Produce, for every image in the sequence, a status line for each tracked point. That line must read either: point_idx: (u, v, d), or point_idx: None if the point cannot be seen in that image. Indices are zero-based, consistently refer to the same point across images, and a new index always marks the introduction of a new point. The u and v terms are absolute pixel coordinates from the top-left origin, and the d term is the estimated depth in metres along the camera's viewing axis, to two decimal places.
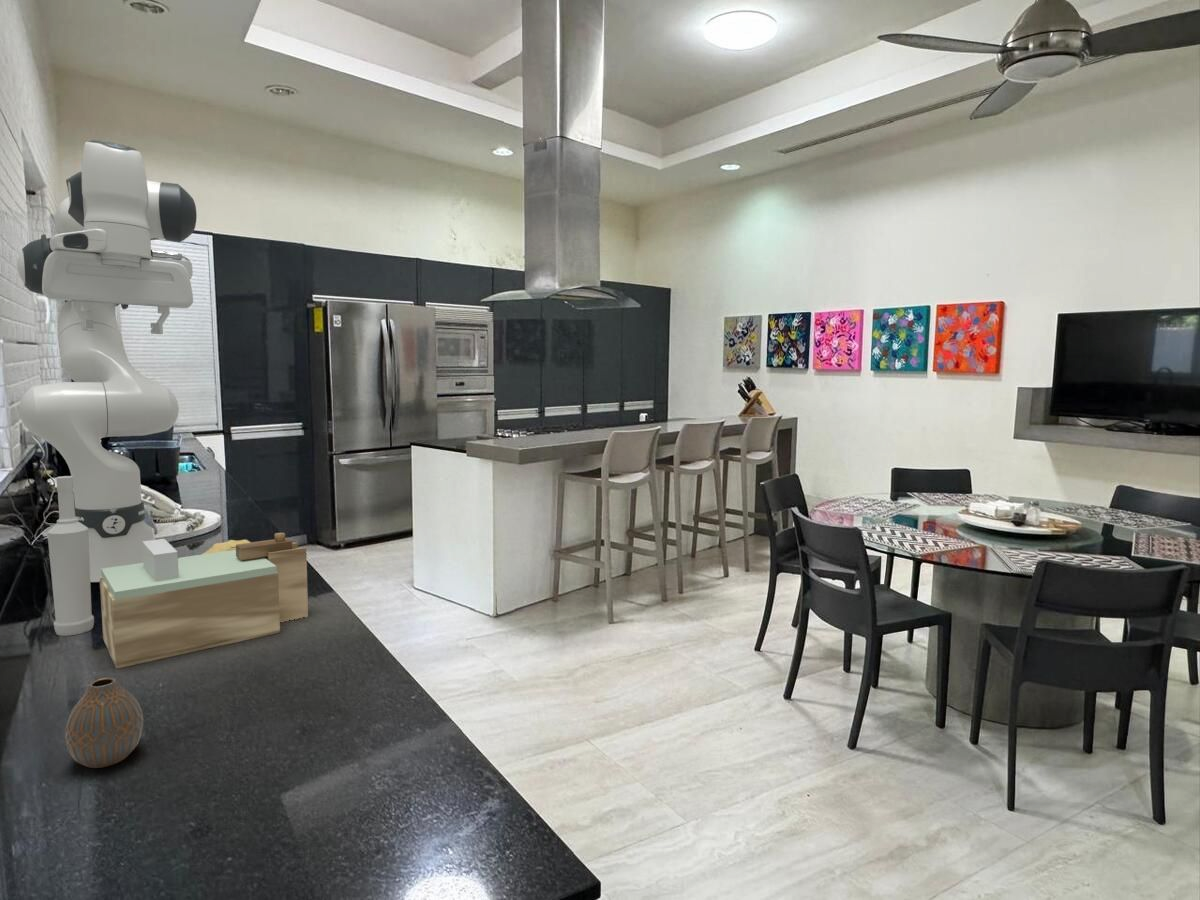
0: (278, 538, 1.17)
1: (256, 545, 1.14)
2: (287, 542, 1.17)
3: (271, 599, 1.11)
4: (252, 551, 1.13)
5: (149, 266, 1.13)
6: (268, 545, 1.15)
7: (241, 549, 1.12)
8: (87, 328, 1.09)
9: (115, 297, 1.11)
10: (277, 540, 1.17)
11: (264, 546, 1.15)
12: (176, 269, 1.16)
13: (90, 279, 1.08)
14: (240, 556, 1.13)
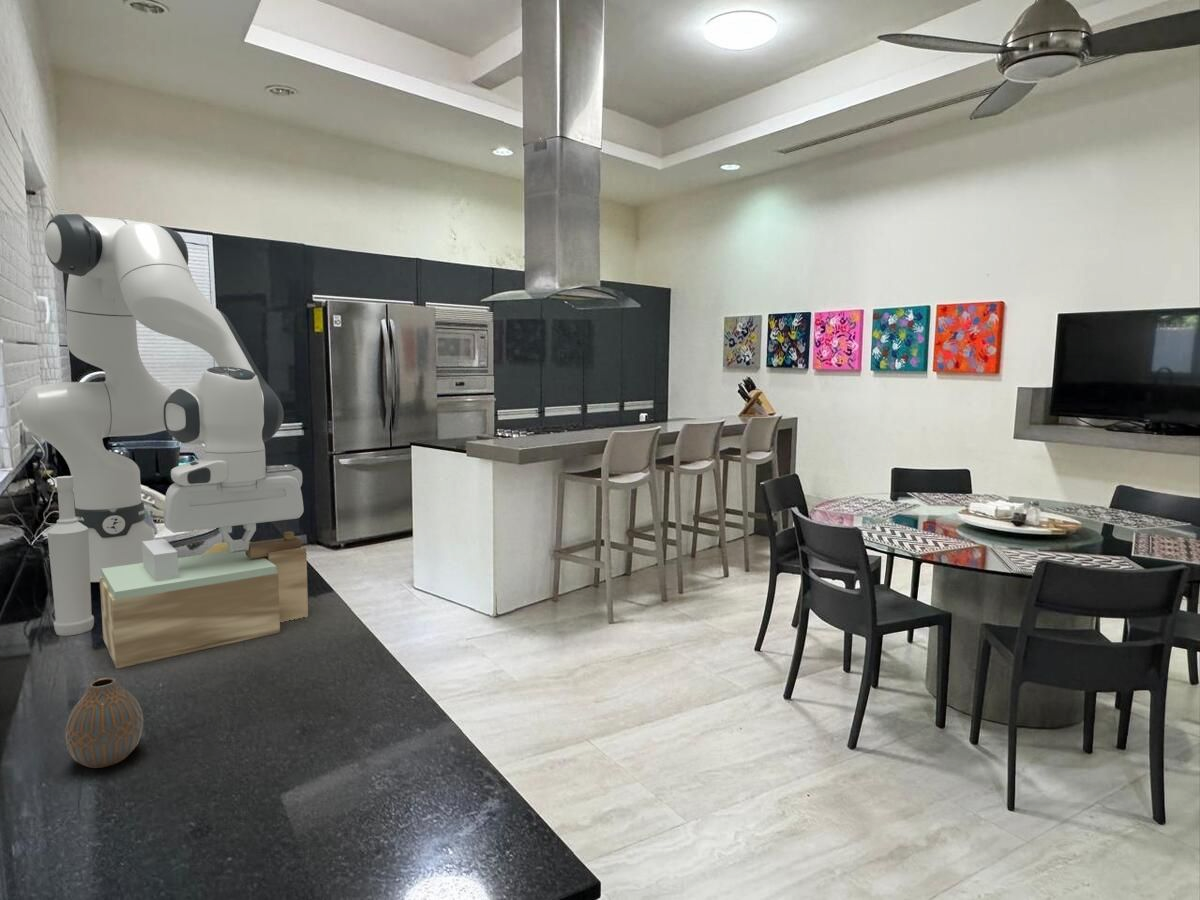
0: (287, 537, 1.18)
1: (265, 544, 1.15)
2: (296, 541, 1.18)
3: (271, 599, 1.11)
4: (262, 550, 1.14)
5: (264, 485, 1.13)
6: (277, 544, 1.16)
7: (251, 548, 1.13)
8: (234, 550, 1.12)
9: (233, 521, 1.11)
10: (286, 539, 1.18)
11: (273, 545, 1.16)
12: (288, 483, 1.16)
13: (210, 508, 1.08)
14: (250, 555, 1.14)
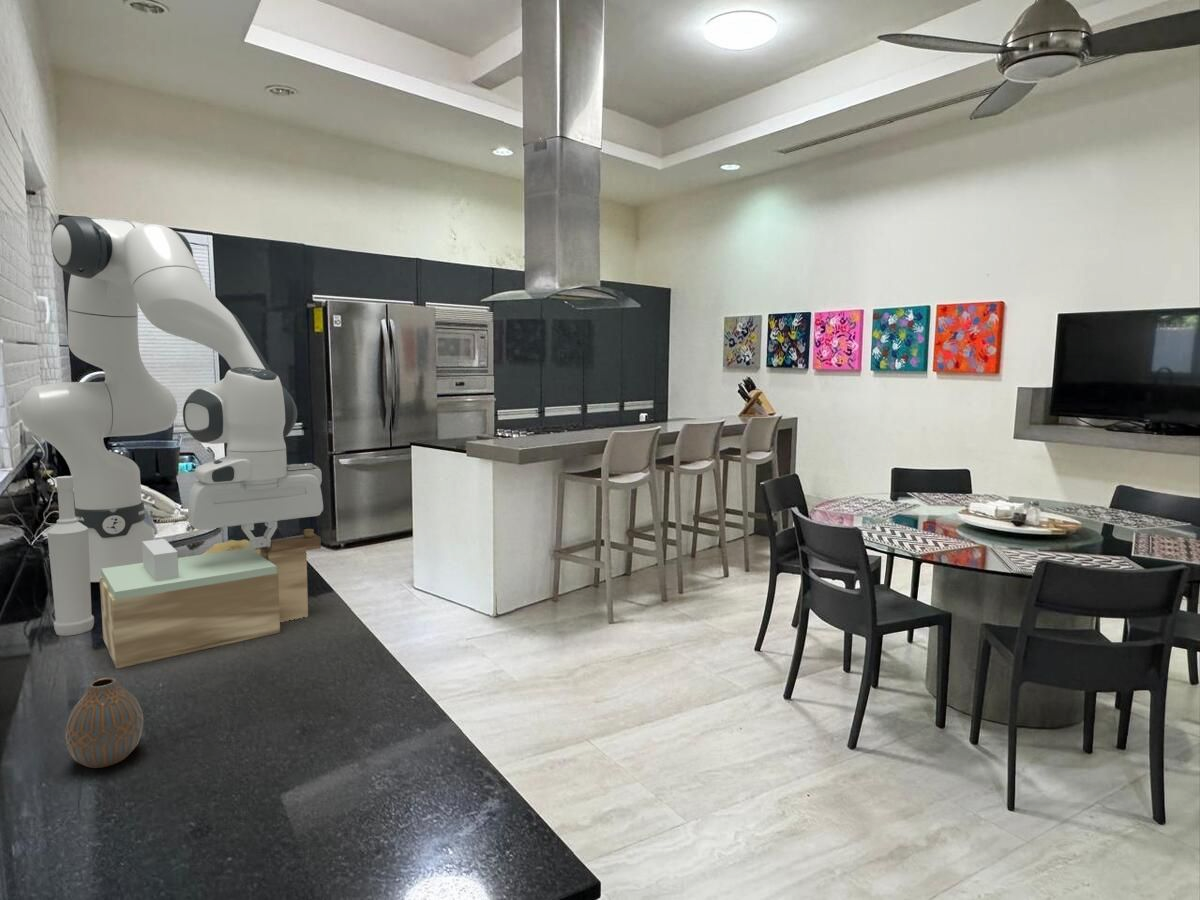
0: (307, 534, 1.20)
1: (286, 541, 1.17)
2: (316, 538, 1.20)
3: (271, 599, 1.11)
4: (283, 547, 1.17)
5: (285, 483, 1.15)
6: (298, 541, 1.18)
7: (272, 545, 1.15)
8: (256, 547, 1.14)
9: (255, 519, 1.13)
10: (306, 536, 1.20)
11: (294, 542, 1.18)
12: (309, 482, 1.18)
13: (233, 505, 1.10)
14: (271, 551, 1.16)
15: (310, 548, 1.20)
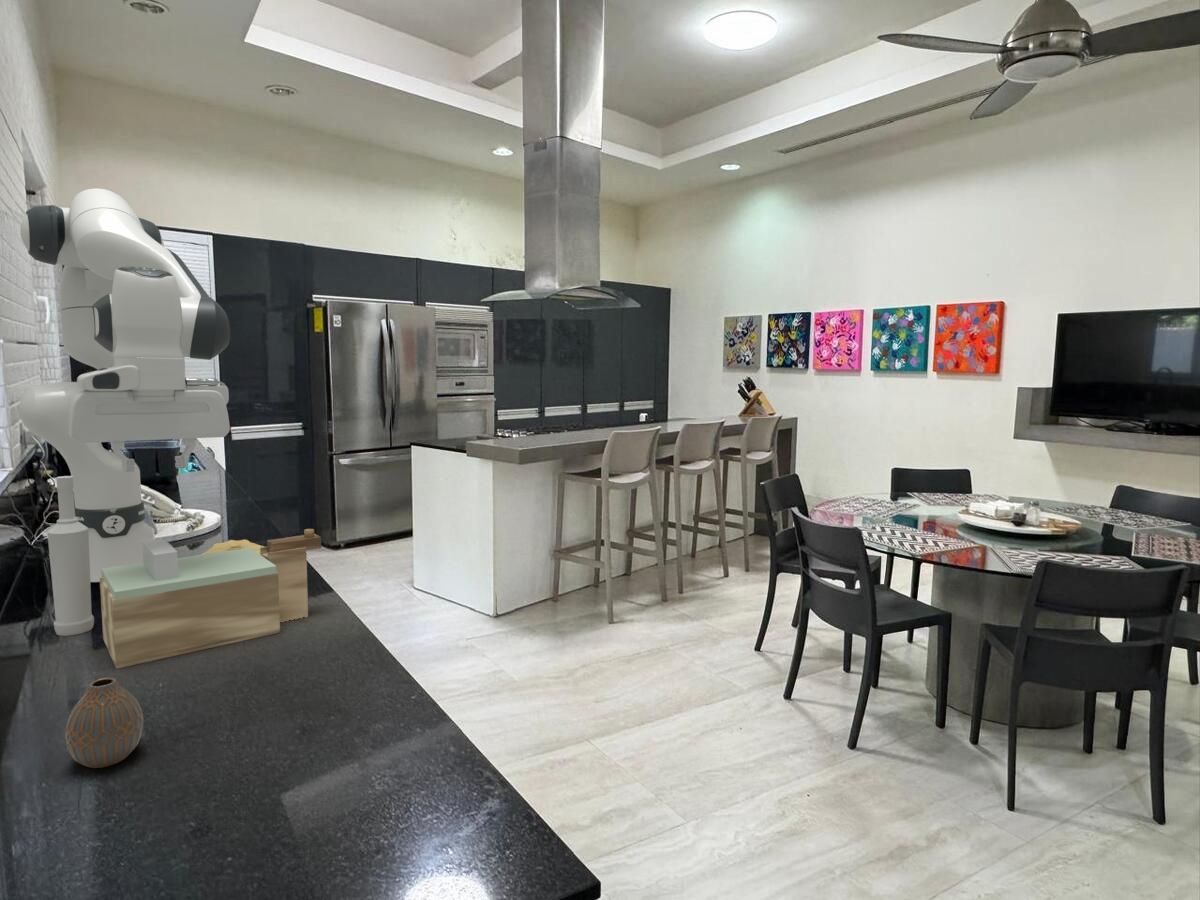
0: (308, 534, 1.20)
1: (287, 541, 1.17)
2: (316, 538, 1.20)
3: (271, 599, 1.11)
4: (283, 547, 1.17)
5: (184, 398, 1.04)
6: (298, 541, 1.18)
7: (273, 545, 1.16)
8: (127, 469, 1.01)
9: (148, 435, 1.02)
10: (307, 536, 1.20)
11: (294, 542, 1.18)
12: (212, 398, 1.07)
13: (121, 418, 0.99)
14: (272, 551, 1.16)
15: (310, 548, 1.20)
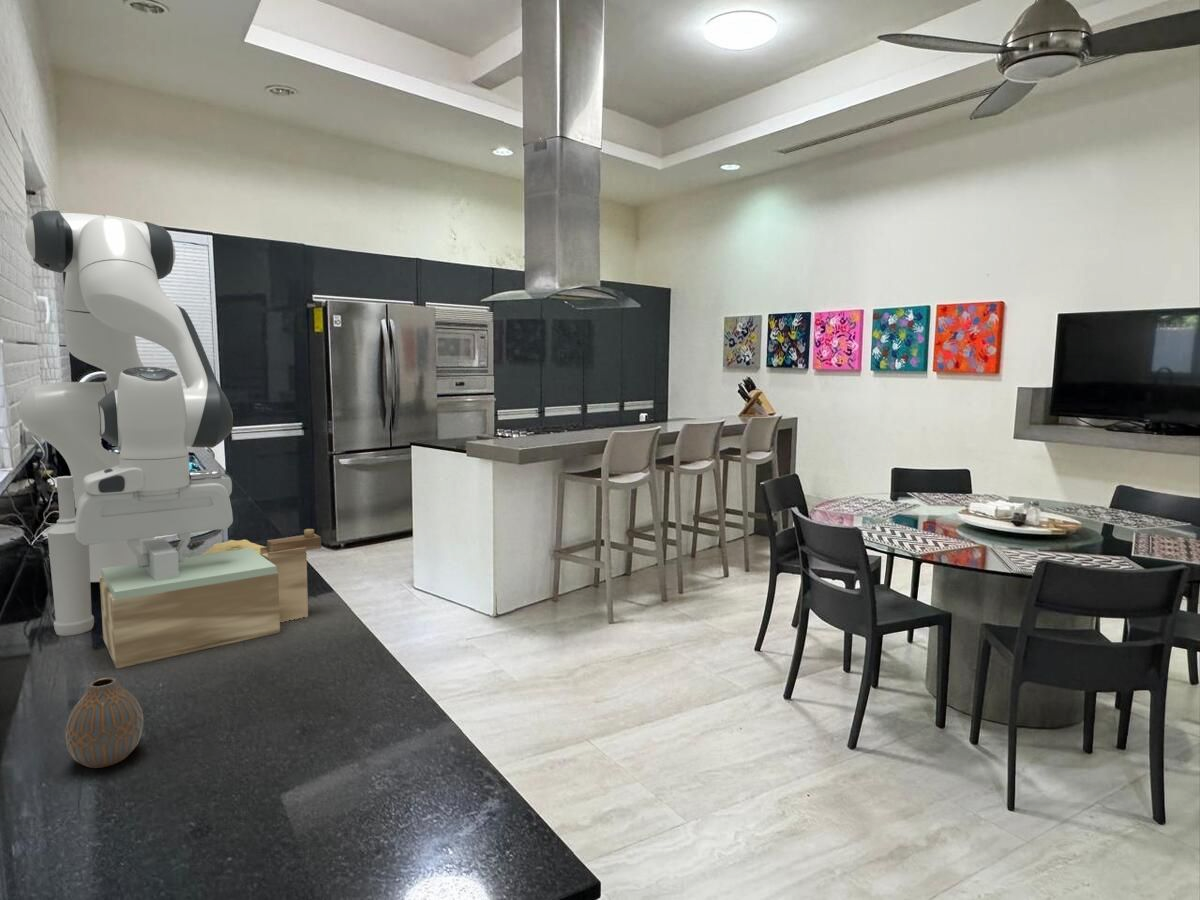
0: (308, 534, 1.20)
1: (287, 541, 1.17)
2: (316, 538, 1.20)
3: (271, 599, 1.11)
4: (283, 547, 1.17)
5: (188, 493, 1.06)
6: (298, 541, 1.18)
7: (273, 545, 1.16)
8: (142, 565, 1.04)
9: (152, 532, 1.03)
10: (307, 536, 1.20)
11: (294, 542, 1.18)
12: (215, 491, 1.09)
13: (126, 518, 1.01)
14: (272, 551, 1.16)
15: (310, 548, 1.20)
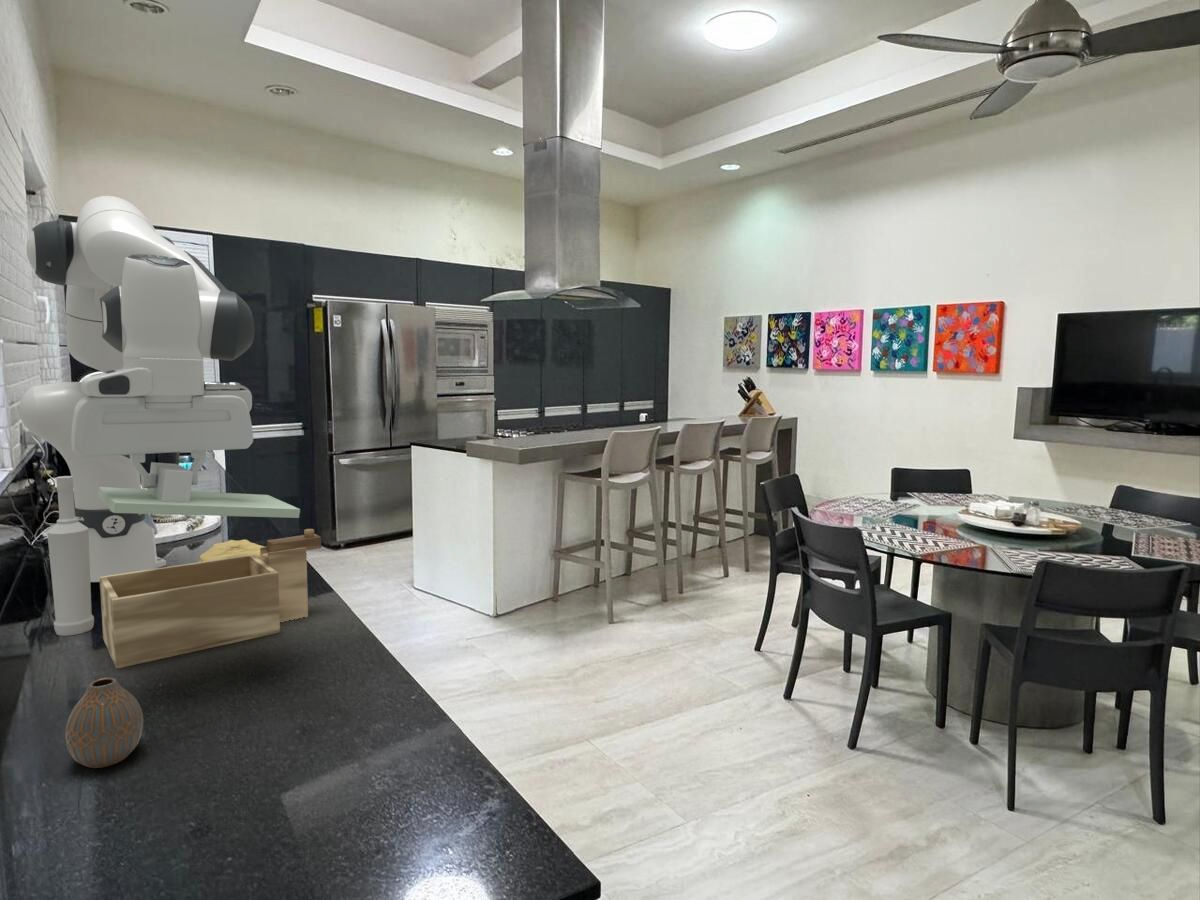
0: (308, 534, 1.20)
1: (287, 541, 1.17)
2: (316, 538, 1.20)
3: (271, 599, 1.11)
4: (283, 547, 1.17)
5: (202, 404, 0.92)
6: (298, 541, 1.18)
7: (273, 545, 1.16)
8: (148, 485, 0.89)
9: (162, 447, 0.89)
10: (307, 536, 1.20)
11: (294, 542, 1.18)
12: (234, 405, 0.94)
13: (131, 428, 0.87)
14: (272, 551, 1.16)
15: (310, 548, 1.20)
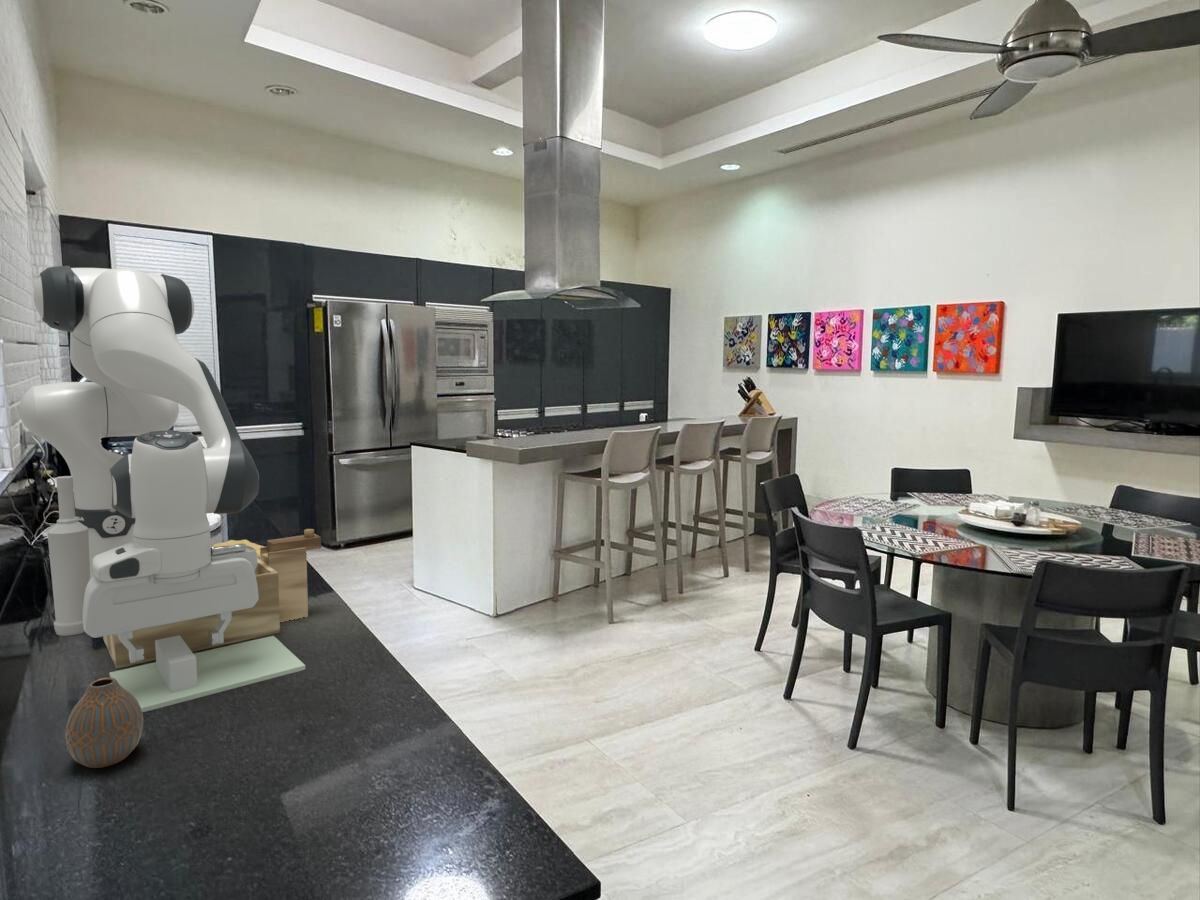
0: (308, 534, 1.20)
1: (287, 541, 1.17)
2: (316, 538, 1.20)
3: (271, 599, 1.11)
4: (283, 547, 1.17)
5: (209, 572, 0.94)
6: (298, 541, 1.18)
7: (273, 545, 1.16)
8: (136, 660, 0.90)
9: (170, 618, 0.92)
10: (307, 536, 1.20)
11: (294, 542, 1.18)
12: (240, 568, 0.97)
13: (140, 604, 0.89)
14: (272, 551, 1.16)
15: (310, 548, 1.20)
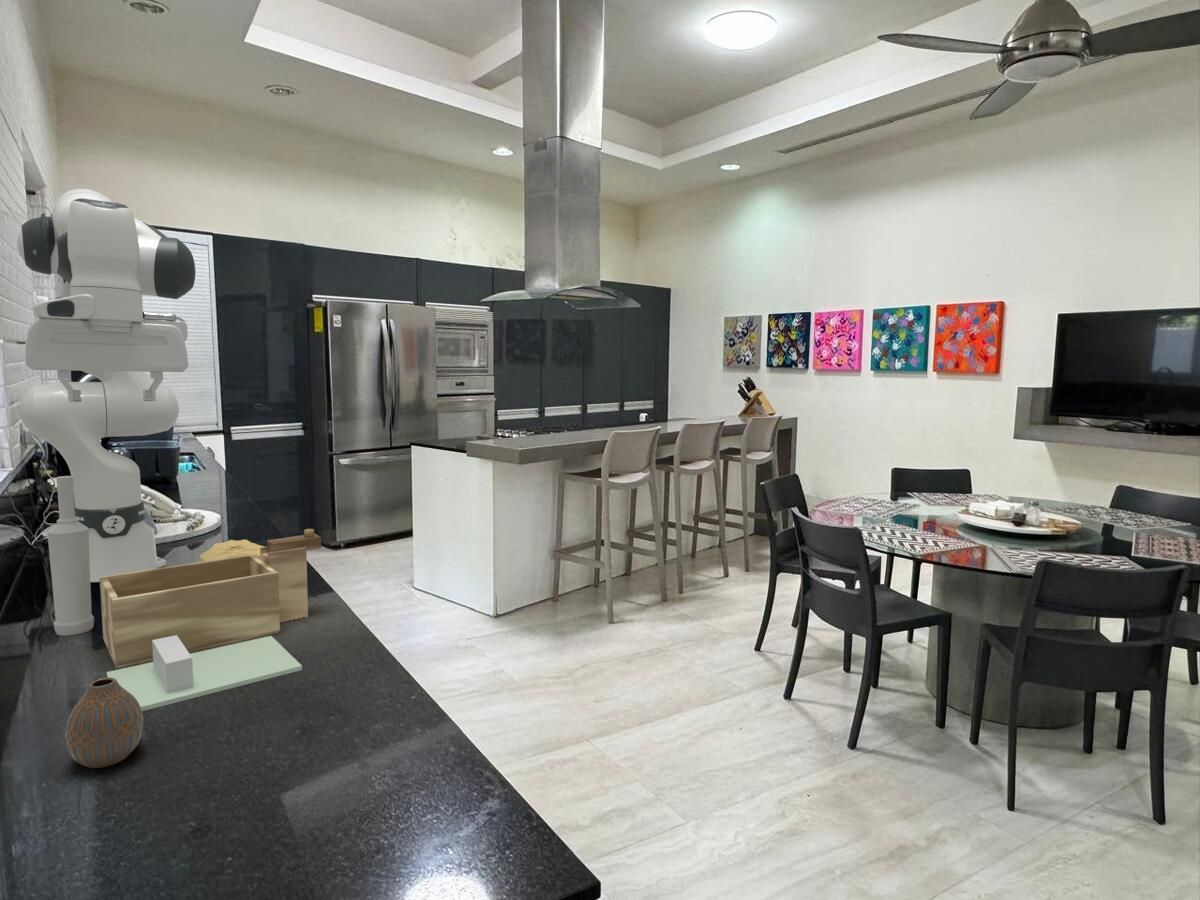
0: (308, 534, 1.20)
1: (287, 541, 1.17)
2: (316, 538, 1.20)
3: (271, 599, 1.11)
4: (283, 547, 1.17)
5: (141, 330, 1.06)
6: (298, 541, 1.18)
7: (273, 545, 1.16)
8: (73, 399, 1.02)
9: (104, 365, 1.03)
10: (307, 536, 1.20)
11: (294, 542, 1.18)
12: (170, 332, 1.08)
13: (77, 347, 1.01)
14: (272, 551, 1.16)
15: (310, 548, 1.20)
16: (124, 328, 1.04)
